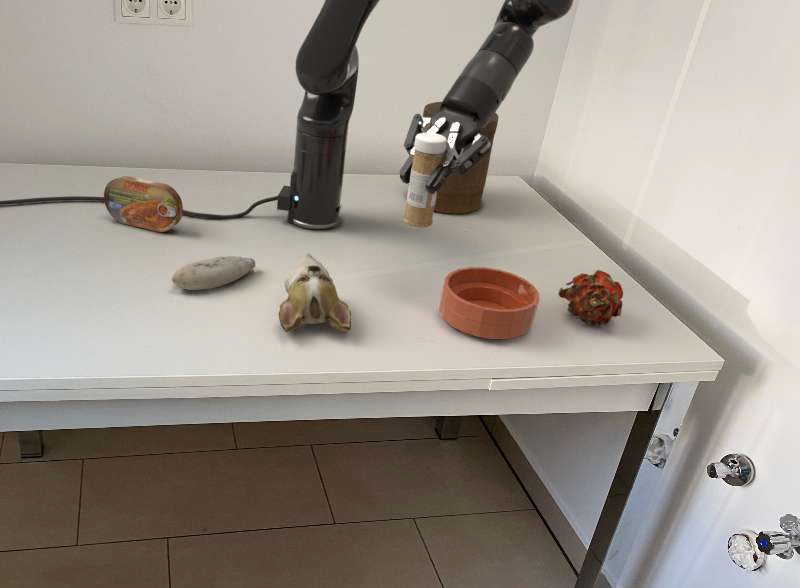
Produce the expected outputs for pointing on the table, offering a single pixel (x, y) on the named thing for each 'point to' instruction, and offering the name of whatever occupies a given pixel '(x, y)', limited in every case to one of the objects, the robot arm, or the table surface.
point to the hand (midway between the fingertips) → (416, 185)
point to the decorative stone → (212, 272)
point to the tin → (143, 203)
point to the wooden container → (466, 188)
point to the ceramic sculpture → (312, 298)
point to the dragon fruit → (594, 297)
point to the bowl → (488, 302)
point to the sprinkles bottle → (423, 179)
